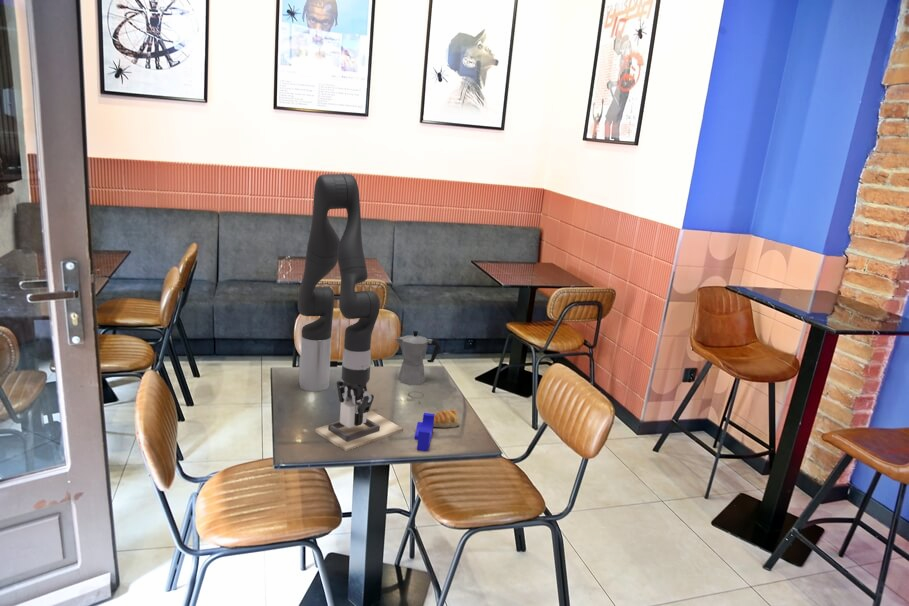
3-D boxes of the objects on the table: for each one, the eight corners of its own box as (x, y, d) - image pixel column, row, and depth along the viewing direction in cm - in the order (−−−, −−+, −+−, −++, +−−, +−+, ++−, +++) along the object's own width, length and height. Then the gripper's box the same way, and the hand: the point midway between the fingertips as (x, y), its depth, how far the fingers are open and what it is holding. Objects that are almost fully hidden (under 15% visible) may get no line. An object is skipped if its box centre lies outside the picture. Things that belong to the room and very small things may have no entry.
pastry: (431, 430, 180) (432, 418, 179) (422, 420, 185) (423, 408, 184) (460, 426, 184) (462, 415, 183) (451, 416, 189) (452, 405, 188)
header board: (315, 431, 173) (315, 423, 172) (371, 414, 187) (372, 406, 186) (345, 452, 164) (346, 443, 163) (402, 431, 178) (403, 423, 177)
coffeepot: (390, 383, 211) (394, 333, 207) (394, 373, 220) (398, 325, 216) (435, 388, 211) (440, 337, 206) (437, 378, 220) (442, 329, 215)
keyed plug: (339, 422, 172) (340, 402, 170) (360, 416, 177) (361, 396, 175) (348, 428, 169) (349, 407, 168) (369, 421, 174) (370, 401, 173)
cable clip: (417, 431, 179) (418, 412, 178) (432, 433, 179) (434, 414, 178) (411, 451, 168) (413, 430, 166) (427, 453, 168) (429, 432, 166)
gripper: (329, 358, 170) (326, 416, 175) (361, 374, 161) (358, 435, 165) (351, 353, 176) (348, 409, 180) (384, 369, 166) (380, 428, 171)
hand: (353, 421), depth 173 cm, fingers closed on keyed plug, 4 cm apart
